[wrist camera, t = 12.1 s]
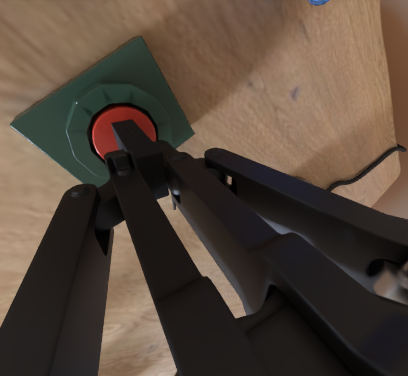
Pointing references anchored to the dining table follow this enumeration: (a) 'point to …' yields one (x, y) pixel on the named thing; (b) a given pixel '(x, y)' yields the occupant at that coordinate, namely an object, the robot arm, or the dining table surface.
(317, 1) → the blue flower
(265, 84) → the dining table surface
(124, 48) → the button housing
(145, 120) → the button
